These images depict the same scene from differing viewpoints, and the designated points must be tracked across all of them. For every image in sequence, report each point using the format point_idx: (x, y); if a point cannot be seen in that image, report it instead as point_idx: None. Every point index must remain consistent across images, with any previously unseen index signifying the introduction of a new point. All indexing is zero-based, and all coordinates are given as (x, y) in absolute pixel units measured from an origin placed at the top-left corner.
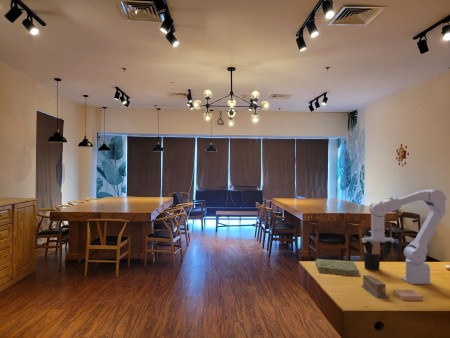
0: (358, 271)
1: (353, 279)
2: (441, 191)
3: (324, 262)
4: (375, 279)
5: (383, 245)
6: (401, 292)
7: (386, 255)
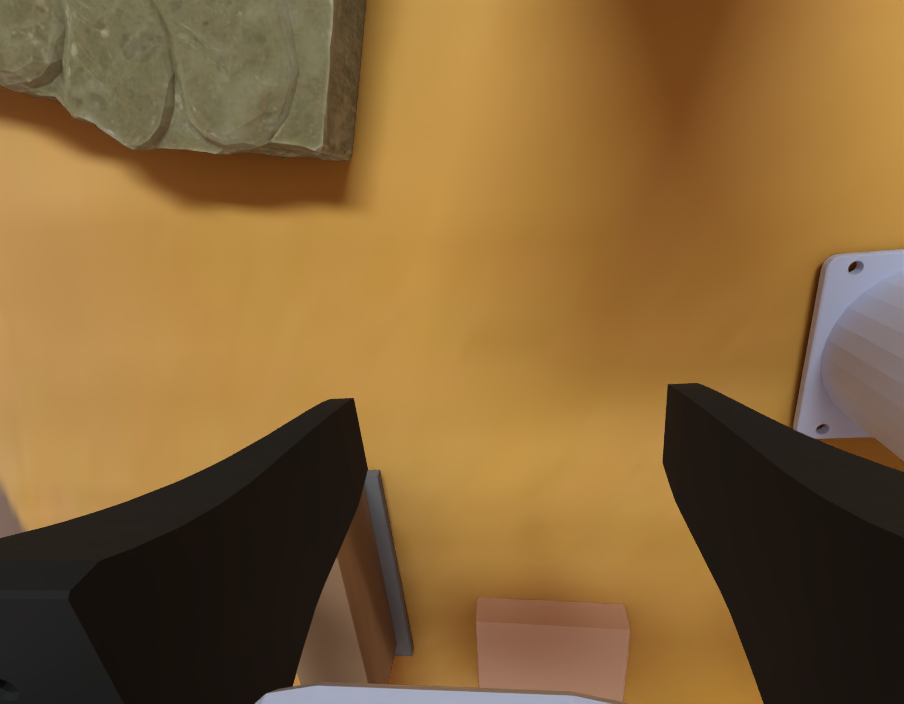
0: (320, 154)
1: (253, 297)
2: None
3: None
4: (337, 642)
5: (833, 551)
6: (512, 662)
7: (682, 510)
